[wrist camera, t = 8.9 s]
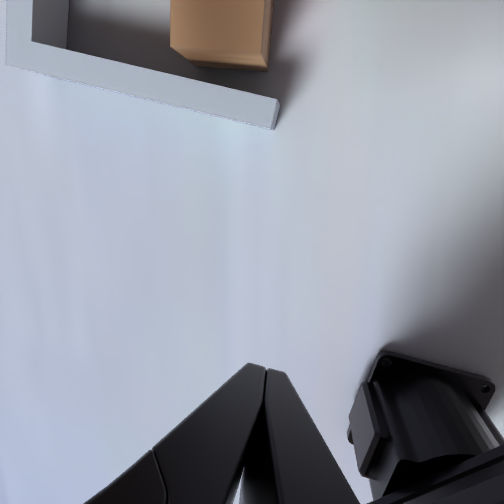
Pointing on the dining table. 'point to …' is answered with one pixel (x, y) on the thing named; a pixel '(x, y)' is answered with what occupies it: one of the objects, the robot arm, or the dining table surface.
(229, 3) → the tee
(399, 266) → the dining table surface
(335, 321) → the dining table surface
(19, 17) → the white angled frame
